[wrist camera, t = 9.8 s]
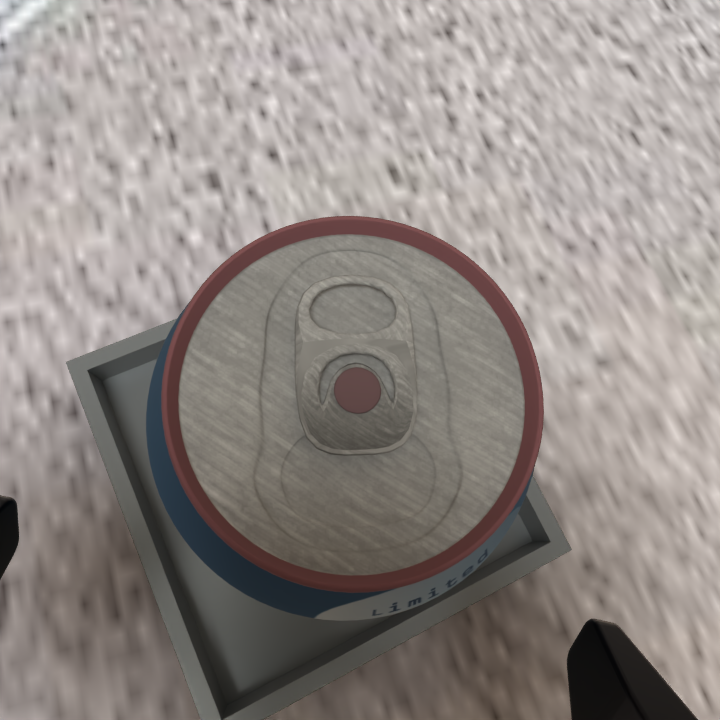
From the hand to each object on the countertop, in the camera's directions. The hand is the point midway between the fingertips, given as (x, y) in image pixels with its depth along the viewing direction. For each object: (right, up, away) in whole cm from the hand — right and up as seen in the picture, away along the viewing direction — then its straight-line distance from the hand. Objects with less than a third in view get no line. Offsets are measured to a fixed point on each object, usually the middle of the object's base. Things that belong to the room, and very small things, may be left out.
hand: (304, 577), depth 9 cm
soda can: (0, 0, +11) cm, 11 cm away
